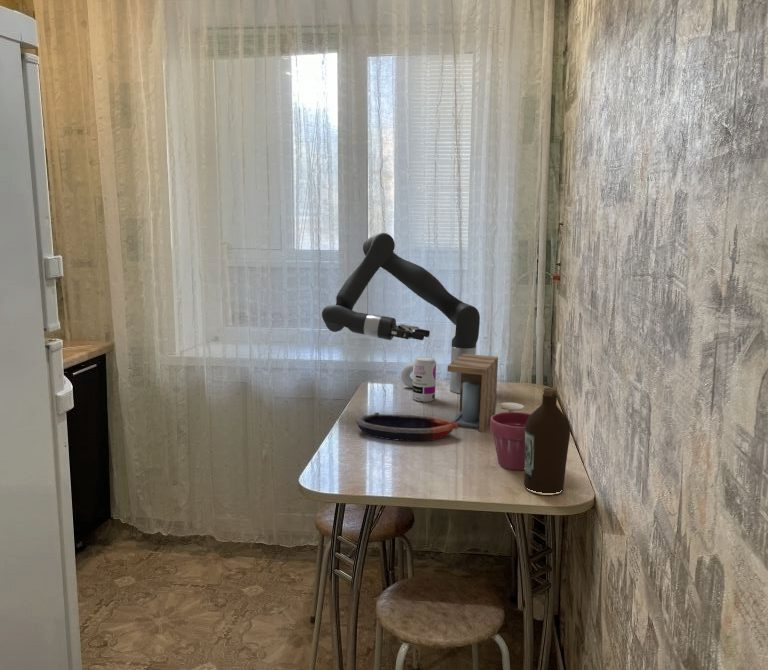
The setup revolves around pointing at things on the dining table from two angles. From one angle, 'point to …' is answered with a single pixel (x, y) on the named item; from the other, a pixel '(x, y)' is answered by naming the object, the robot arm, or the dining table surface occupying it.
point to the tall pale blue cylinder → (471, 401)
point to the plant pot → (510, 438)
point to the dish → (405, 427)
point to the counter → (479, 381)
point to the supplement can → (424, 379)
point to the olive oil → (546, 446)
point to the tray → (466, 424)
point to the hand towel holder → (511, 406)
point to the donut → (407, 375)
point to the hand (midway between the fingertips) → (426, 335)
